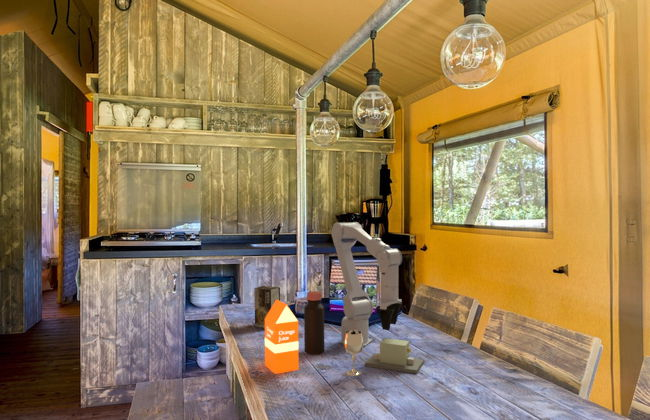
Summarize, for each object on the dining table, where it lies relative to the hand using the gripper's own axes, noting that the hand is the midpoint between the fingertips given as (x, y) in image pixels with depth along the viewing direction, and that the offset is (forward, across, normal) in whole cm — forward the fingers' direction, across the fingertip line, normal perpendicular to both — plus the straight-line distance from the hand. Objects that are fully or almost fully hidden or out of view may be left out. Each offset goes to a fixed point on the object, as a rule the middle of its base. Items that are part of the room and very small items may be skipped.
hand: (389, 326), depth 146 cm
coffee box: (+10, +14, +56) cm, 59 cm away
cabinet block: (+8, -8, -4) cm, 12 cm away
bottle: (+10, -8, +24) cm, 27 cm away
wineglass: (+9, -20, +5) cm, 23 cm away
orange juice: (+10, -25, +27) cm, 38 cm away
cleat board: (+9, -8, -4) cm, 13 cm away
